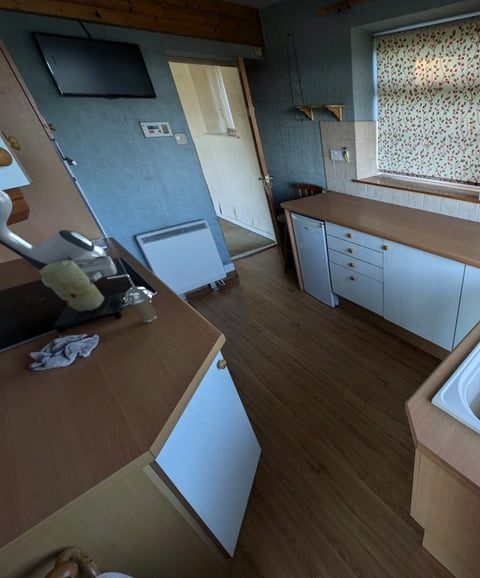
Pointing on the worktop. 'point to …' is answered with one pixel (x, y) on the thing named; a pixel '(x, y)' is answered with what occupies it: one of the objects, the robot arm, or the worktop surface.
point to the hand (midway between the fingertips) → (76, 282)
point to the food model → (72, 285)
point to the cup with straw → (139, 301)
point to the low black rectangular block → (91, 312)
